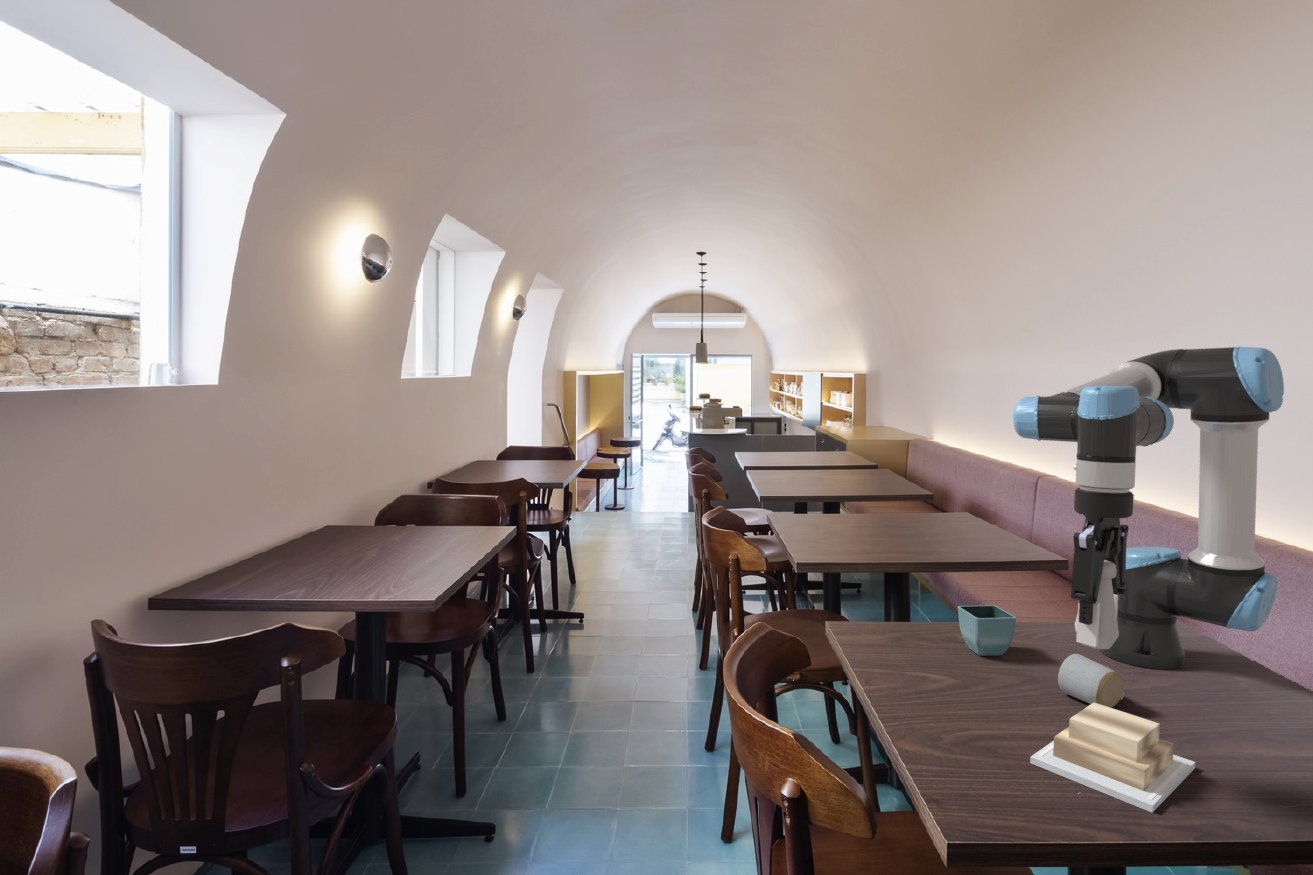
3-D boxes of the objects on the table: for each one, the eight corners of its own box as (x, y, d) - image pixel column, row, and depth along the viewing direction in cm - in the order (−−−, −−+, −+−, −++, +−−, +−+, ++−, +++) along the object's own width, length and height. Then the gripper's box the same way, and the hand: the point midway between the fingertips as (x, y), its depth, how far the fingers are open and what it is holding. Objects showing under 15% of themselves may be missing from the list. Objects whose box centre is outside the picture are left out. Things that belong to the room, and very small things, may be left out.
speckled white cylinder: (1098, 715, 125) (1101, 672, 124) (1055, 696, 132) (1058, 655, 131) (1136, 704, 129) (1139, 663, 128) (1092, 687, 136) (1095, 647, 136)
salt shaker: (1078, 648, 107) (1082, 563, 106) (1069, 635, 112) (1073, 554, 112) (1123, 653, 105) (1128, 566, 104) (1112, 640, 111) (1116, 557, 110)
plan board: (1079, 727, 120) (1079, 721, 120) (1194, 768, 107) (1195, 761, 107) (1030, 762, 109) (1030, 756, 109) (1152, 812, 96) (1152, 804, 96)
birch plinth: (1085, 732, 116) (1087, 696, 116) (1172, 762, 107) (1175, 724, 106) (1053, 755, 109) (1054, 717, 108) (1143, 791, 100) (1146, 749, 99)
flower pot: (955, 644, 158) (956, 605, 157) (993, 644, 158) (995, 604, 158) (975, 660, 149) (976, 618, 148) (1015, 659, 150) (1017, 617, 149)
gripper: (1103, 480, 116) (1096, 620, 117) (1048, 491, 104) (1041, 645, 106) (1156, 486, 110) (1148, 633, 111) (1105, 497, 98) (1096, 661, 100)
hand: (1096, 638), depth 109 cm, fingers closed on salt shaker, 6 cm apart
